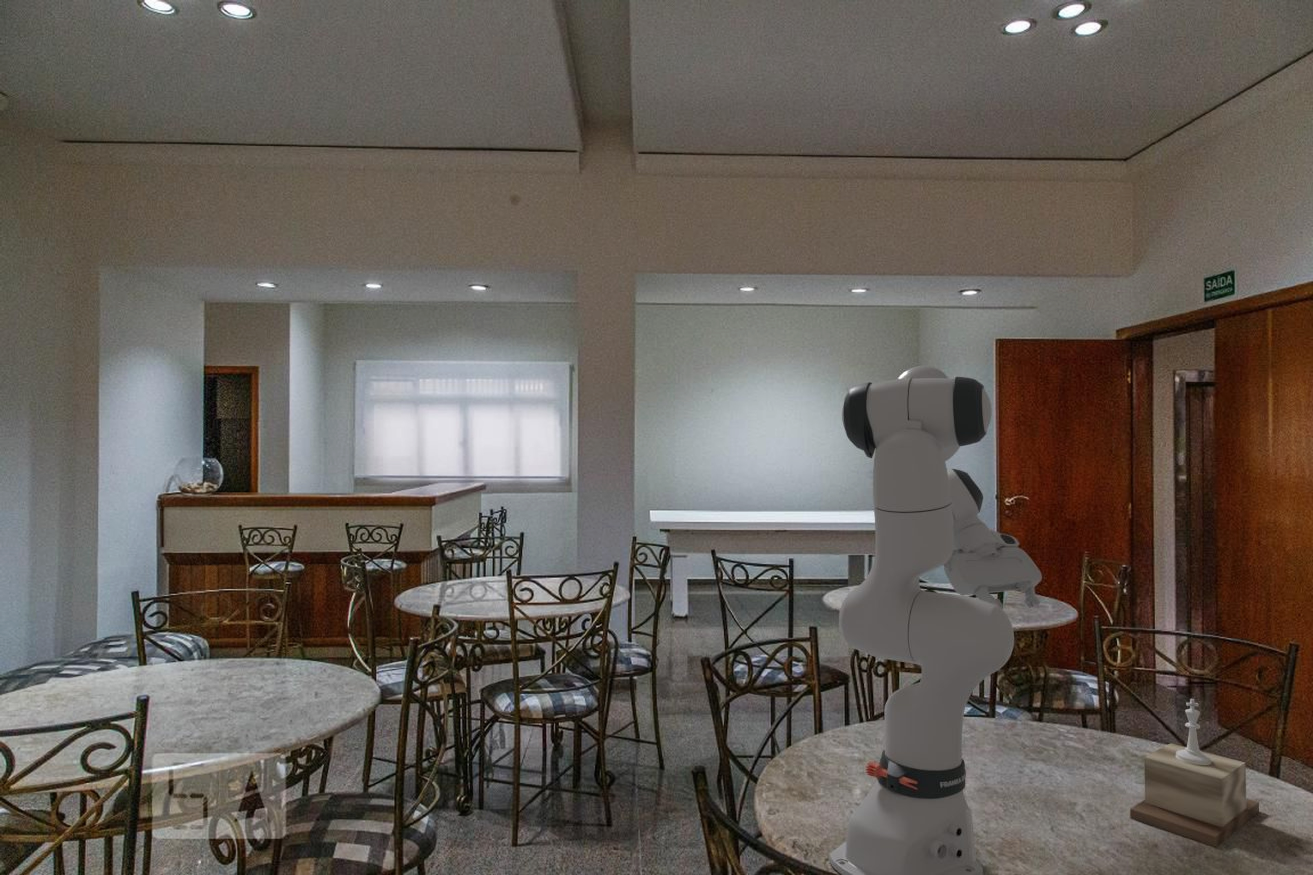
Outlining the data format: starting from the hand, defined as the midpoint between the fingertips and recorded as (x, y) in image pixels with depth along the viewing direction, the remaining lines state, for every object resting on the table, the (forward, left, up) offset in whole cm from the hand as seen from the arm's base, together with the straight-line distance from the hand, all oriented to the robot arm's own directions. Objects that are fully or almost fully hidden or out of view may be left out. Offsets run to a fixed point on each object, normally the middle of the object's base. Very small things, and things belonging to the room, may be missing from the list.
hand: (1017, 607), depth 146 cm
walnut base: (+9, -25, -31) cm, 41 cm away
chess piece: (+9, -25, -23) cm, 35 cm away
